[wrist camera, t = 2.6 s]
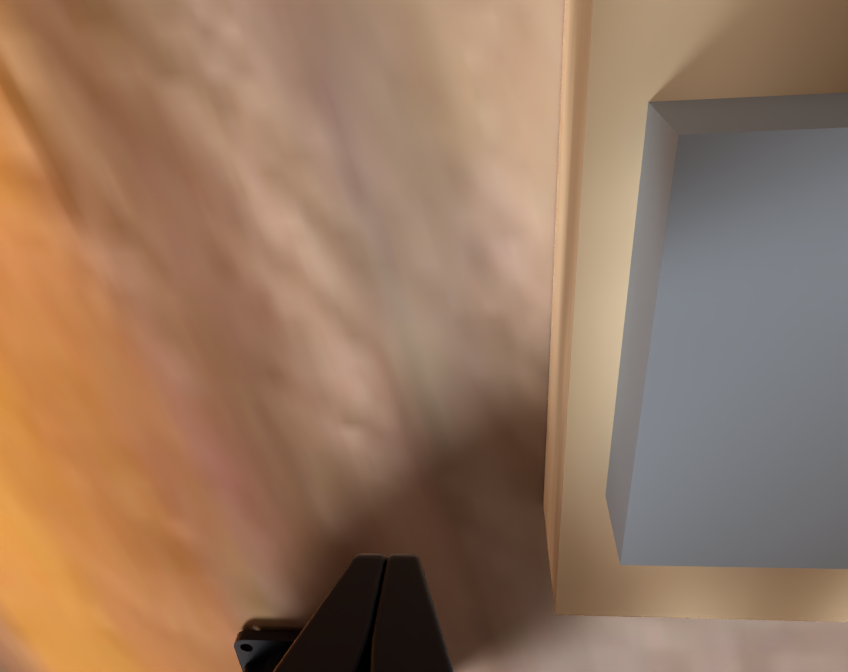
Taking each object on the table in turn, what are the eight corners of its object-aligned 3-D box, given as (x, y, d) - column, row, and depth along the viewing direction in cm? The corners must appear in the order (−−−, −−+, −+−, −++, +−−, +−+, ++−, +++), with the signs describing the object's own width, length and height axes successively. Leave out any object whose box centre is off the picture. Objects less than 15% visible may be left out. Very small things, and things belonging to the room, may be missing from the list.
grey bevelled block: (605, 495, 16) (620, 565, 14) (648, 102, 11) (679, 134, 9) (874, 497, 15) (923, 570, 13) (1042, 83, 10) (1150, 114, 9)
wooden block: (543, 506, 22) (554, 614, 18) (573, -201, 12) (608, -248, 9) (904, 509, 20) (988, 625, 17) (1245, -262, 11) (1581, -344, 8)
